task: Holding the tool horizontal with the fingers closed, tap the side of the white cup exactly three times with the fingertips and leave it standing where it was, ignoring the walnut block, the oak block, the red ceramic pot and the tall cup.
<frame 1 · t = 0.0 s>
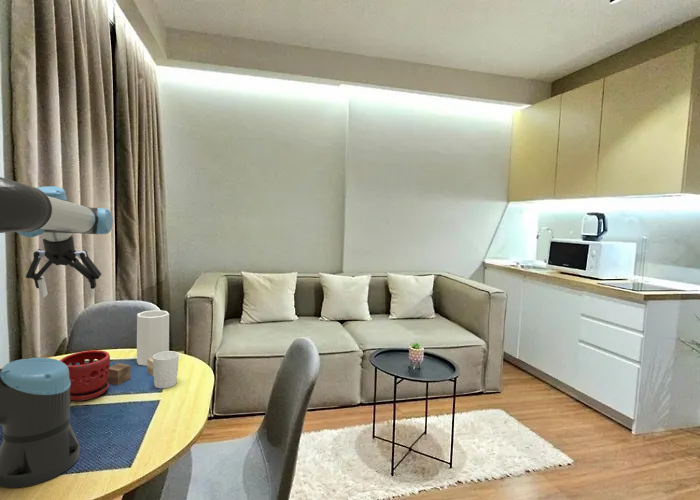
hand: (68, 296, 129), 28 cm above the table, tool tilted 20°, fingers open, 13 cm apart
cup: (152, 361, 150), on the table
oak block: (157, 372, 140), on the table
plant pot: (85, 395, 121), on the table
walnut block: (118, 381, 131), on the table
white cup: (165, 384, 131), on the table
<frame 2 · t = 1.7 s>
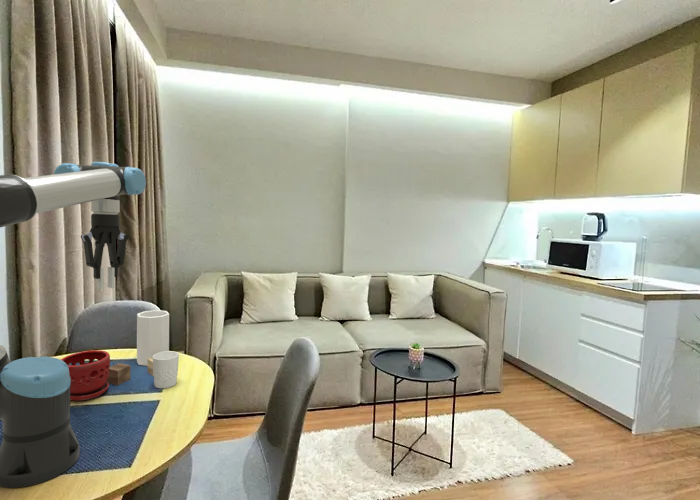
hand: (105, 288, 123), 33 cm above the table, tool pointing down, fingers open, 3 cm apart
nothing on the table moved.
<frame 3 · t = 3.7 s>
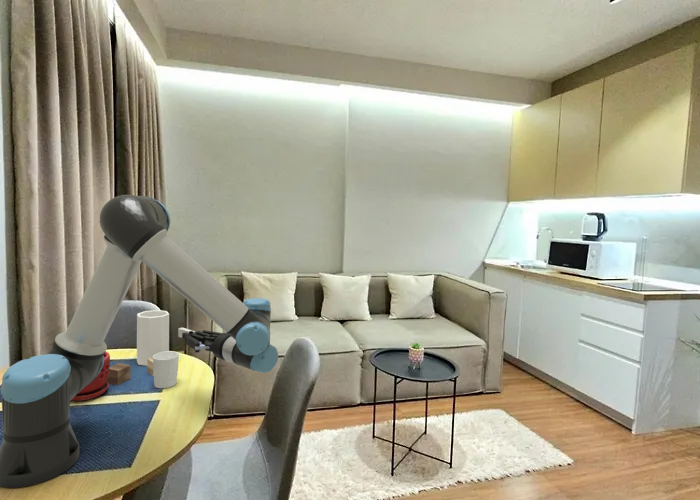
hand: (180, 332, 125), 19 cm above the table, tool horizontal, fingers closed
nothing on the table moved.
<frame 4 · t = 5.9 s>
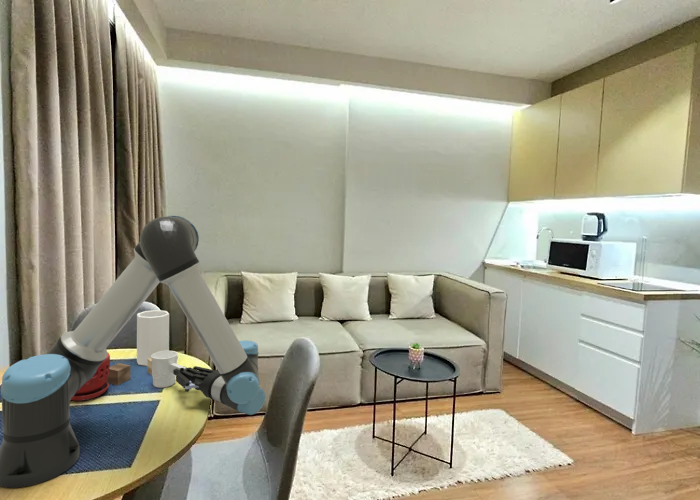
hand: (172, 367, 128), 7 cm above the table, tool horizontal, fingers closed
white cup: (164, 384, 131), on the table, touching gripper
everything else where it was.
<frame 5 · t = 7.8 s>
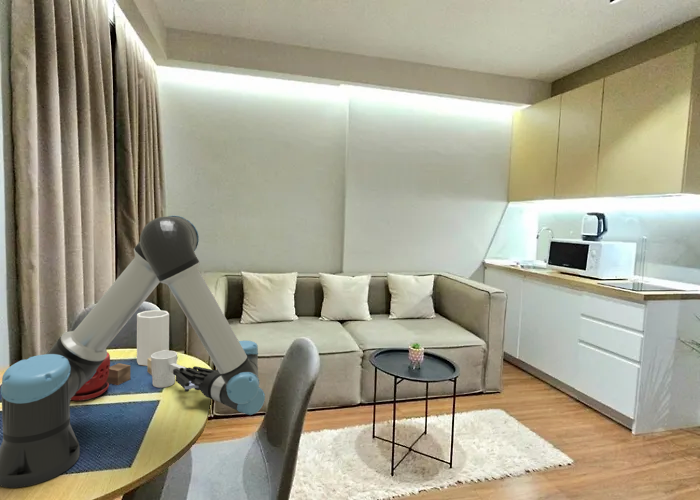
hand: (171, 367, 128), 7 cm above the table, tool horizontal, fingers closed
nothing on the table moved.
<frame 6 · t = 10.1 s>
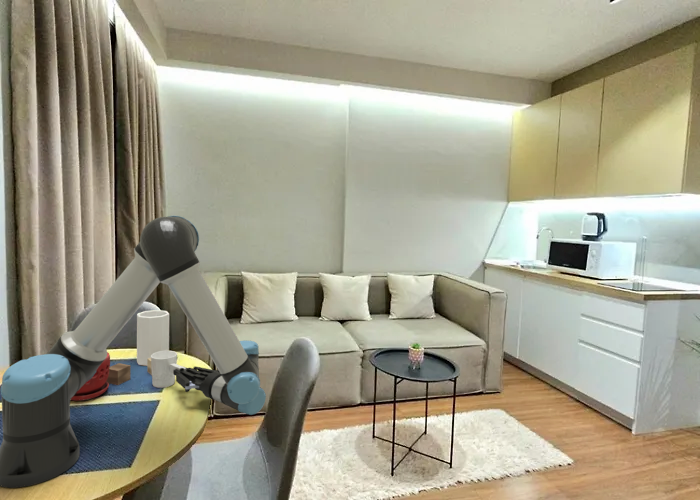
hand: (171, 367, 128), 7 cm above the table, tool horizontal, fingers closed
white cup: (163, 384, 131), on the table
everything else where it was.
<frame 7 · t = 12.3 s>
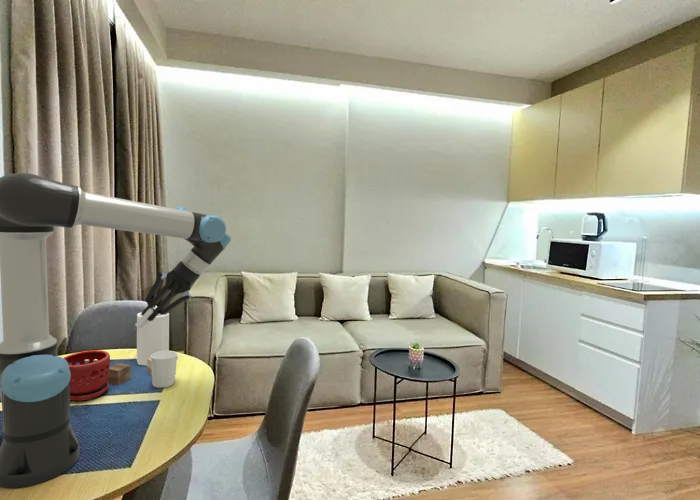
hand: (138, 326, 121), 22 cm above the table, tool tilted 40°, fingers closed
nothing on the table moved.
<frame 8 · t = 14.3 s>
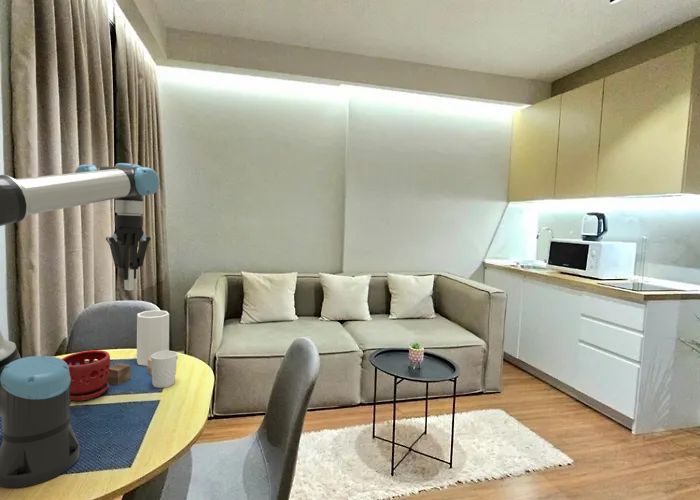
hand: (128, 289, 123), 32 cm above the table, tool pointing down, fingers closed
nothing on the table moved.
at the end: white cup moved 0.9 cm from its start; white cup tilted 0°; white cup touching table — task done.
